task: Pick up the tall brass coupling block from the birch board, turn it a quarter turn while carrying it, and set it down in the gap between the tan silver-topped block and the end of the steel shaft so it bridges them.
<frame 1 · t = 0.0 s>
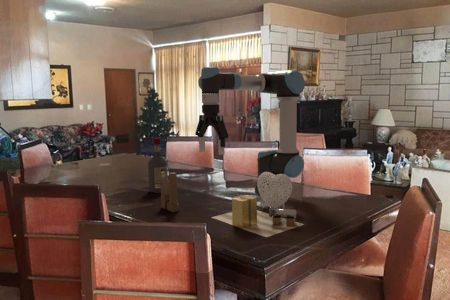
hand: (211, 153, 173), 28 cm above the table, tool pointing down, fingers open, 13 cm apart
coupler: (244, 224, 161), point 1 cm above the table, touching board
wooden block: (170, 209, 188), on the table
liquor: (158, 191, 224), on the table
decorative heart: (274, 209, 185), on the table
tan silver-topped block: (243, 214, 175), resting on board
board: (256, 222, 166), on the table
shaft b: (283, 224, 161), resting on board
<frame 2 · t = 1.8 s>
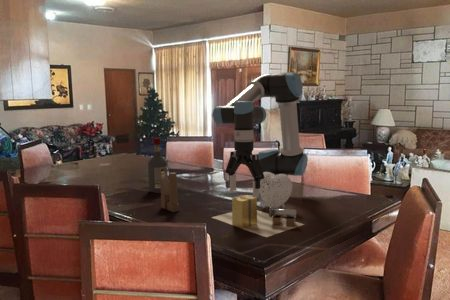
hand: (244, 193, 159), 14 cm above the table, tool pointing down, fingers open, 13 cm apart
nothing on the table moved.
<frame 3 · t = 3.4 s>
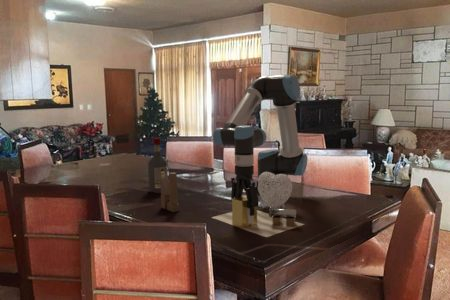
hand: (244, 221, 161), 2 cm above the table, tool pointing down, fingers closed on coupler, 6 cm apart
coupler: (244, 224, 161), point 1 cm above the table, touching board, gripper
everything else where it was.
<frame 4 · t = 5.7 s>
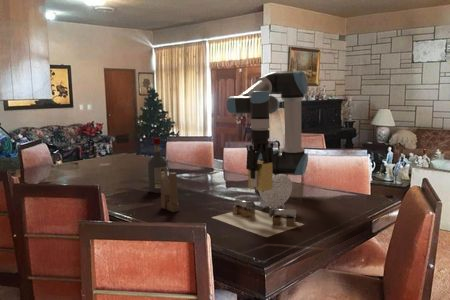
hand: (260, 184, 165), 16 cm above the table, tool pointing down, fingers closed on coupler, 6 cm apart
coupler: (260, 188, 165), point 14 cm above the table, touching gripper
everything else where it was.
when the fingers open (4 cm above the table, at t = 8.0 s): coupler drops 2 cm, resting on board.
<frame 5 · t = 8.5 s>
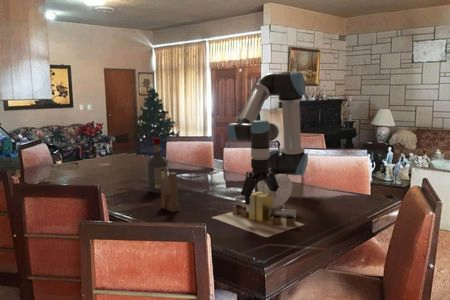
hand: (260, 209, 166), 6 cm above the table, tool pointing down, fingers open, 12 cm apart
coupler: (260, 219, 167), point 1 cm above the table, touching board
everything else where it was.
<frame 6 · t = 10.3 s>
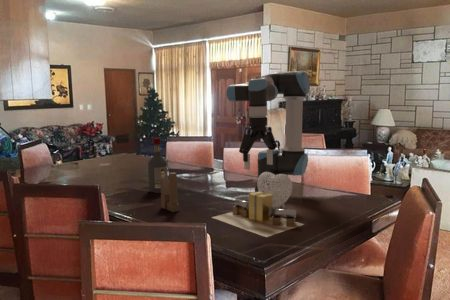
hand: (258, 166, 169), 23 cm above the table, tool pointing down, fingers open, 13 cm apart
nothing on the table moved.
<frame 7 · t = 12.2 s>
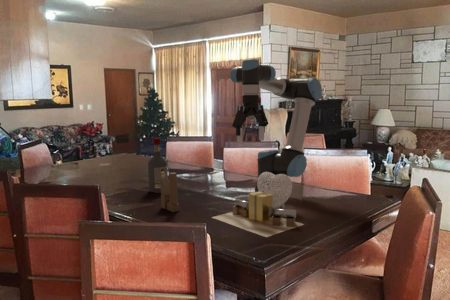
hand: (251, 141, 181), 32 cm above the table, tool pointing down, fingers open, 13 cm apart
nothing on the table moved.
at the end: coupler inside the target area (0.1 cm from its centre), point 0.8 cm above the table; coupler tilted 0°; the gripper is holding nothing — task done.
